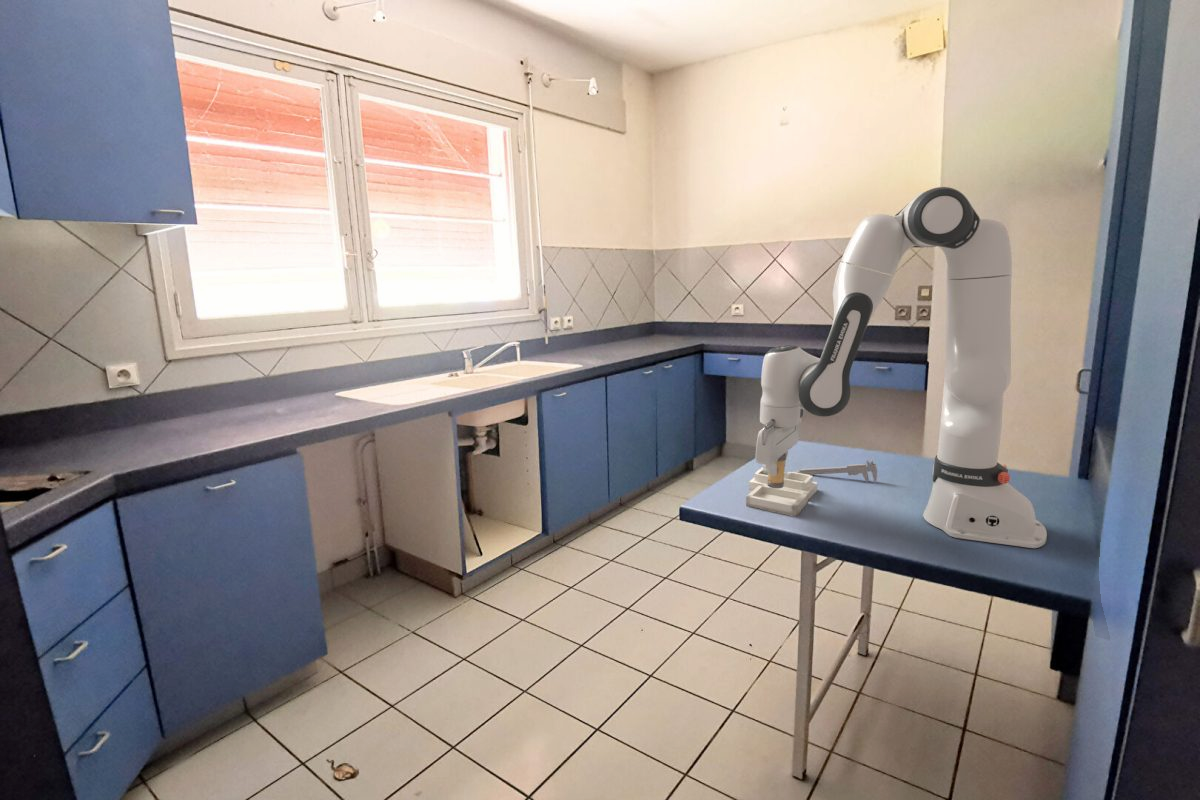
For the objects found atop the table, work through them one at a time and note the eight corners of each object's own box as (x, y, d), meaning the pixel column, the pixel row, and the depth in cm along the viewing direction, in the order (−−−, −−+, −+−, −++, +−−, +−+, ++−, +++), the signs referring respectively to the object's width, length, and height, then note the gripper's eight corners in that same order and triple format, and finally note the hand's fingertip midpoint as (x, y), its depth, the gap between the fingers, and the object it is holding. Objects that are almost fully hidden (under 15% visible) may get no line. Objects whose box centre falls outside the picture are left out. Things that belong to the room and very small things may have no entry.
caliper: (876, 482, 156) (878, 459, 154) (876, 484, 155) (878, 461, 153) (794, 473, 165) (795, 451, 163) (794, 474, 164) (795, 452, 162)
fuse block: (817, 489, 152) (819, 452, 150) (807, 500, 146) (809, 461, 143) (760, 479, 160) (761, 443, 158) (748, 488, 154) (749, 452, 152)
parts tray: (807, 503, 144) (808, 493, 144) (795, 516, 137) (796, 506, 136) (759, 493, 151) (760, 484, 150) (746, 505, 144) (746, 496, 143)
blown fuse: (785, 484, 144) (788, 453, 142) (780, 489, 141) (782, 457, 139) (770, 481, 146) (772, 450, 144) (765, 486, 143) (767, 454, 141)
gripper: (777, 428, 129) (774, 488, 132) (806, 407, 145) (803, 461, 148) (749, 424, 132) (747, 482, 136) (780, 404, 149) (778, 457, 152)
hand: (777, 471), depth 142 cm, fingers closed on blown fuse, 4 cm apart
